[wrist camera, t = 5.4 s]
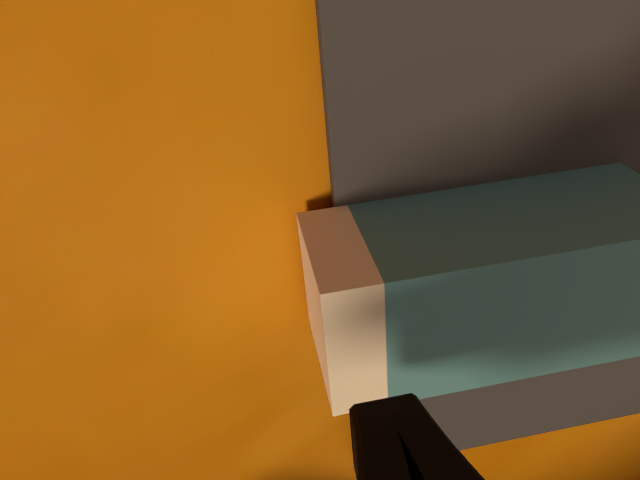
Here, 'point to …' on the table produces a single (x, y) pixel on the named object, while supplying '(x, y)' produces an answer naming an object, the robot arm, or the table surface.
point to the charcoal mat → (485, 143)
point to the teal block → (474, 284)
